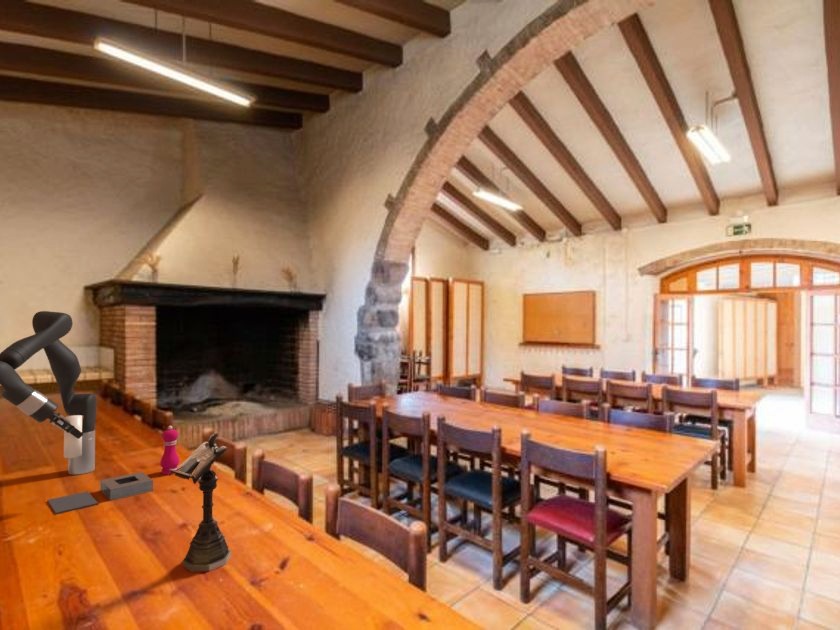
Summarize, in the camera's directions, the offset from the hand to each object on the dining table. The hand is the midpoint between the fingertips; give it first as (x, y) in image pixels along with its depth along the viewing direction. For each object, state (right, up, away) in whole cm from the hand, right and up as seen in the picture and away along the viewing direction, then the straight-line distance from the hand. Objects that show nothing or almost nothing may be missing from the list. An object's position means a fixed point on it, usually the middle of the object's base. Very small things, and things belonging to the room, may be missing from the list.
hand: (79, 434), depth 172 cm
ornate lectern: (+64, -24, -43) cm, 81 cm away
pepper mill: (+16, -24, +32) cm, 43 cm away
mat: (-1, -24, -1) cm, 24 cm away
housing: (+10, -24, +11) cm, 28 cm away
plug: (-1, -7, -1) cm, 7 cm away
